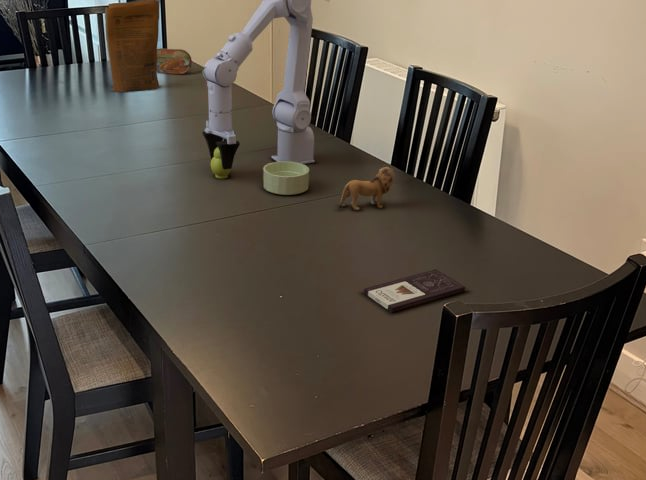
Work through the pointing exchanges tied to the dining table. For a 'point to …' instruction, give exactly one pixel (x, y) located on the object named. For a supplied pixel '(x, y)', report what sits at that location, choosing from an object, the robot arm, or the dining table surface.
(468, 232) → the dining table surface
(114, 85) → the pancake mix bag
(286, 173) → the bowl
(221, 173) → the pear
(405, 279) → the chocolate bar
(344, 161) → the dining table surface
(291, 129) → the robot arm
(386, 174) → the lion figurine
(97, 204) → the dining table surface
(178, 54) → the tin
